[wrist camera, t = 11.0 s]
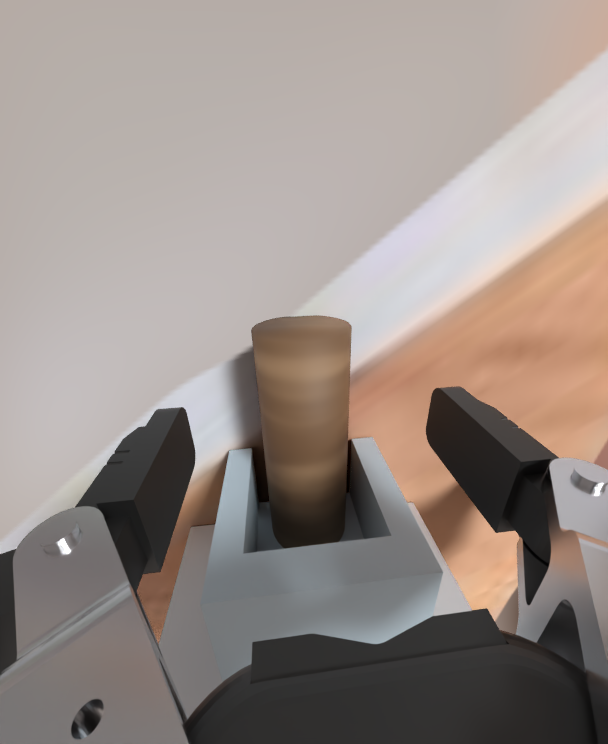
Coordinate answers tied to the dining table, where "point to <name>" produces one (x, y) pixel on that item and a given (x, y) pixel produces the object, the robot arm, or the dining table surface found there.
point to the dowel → (304, 424)
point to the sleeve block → (316, 567)
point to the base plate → (189, 631)
